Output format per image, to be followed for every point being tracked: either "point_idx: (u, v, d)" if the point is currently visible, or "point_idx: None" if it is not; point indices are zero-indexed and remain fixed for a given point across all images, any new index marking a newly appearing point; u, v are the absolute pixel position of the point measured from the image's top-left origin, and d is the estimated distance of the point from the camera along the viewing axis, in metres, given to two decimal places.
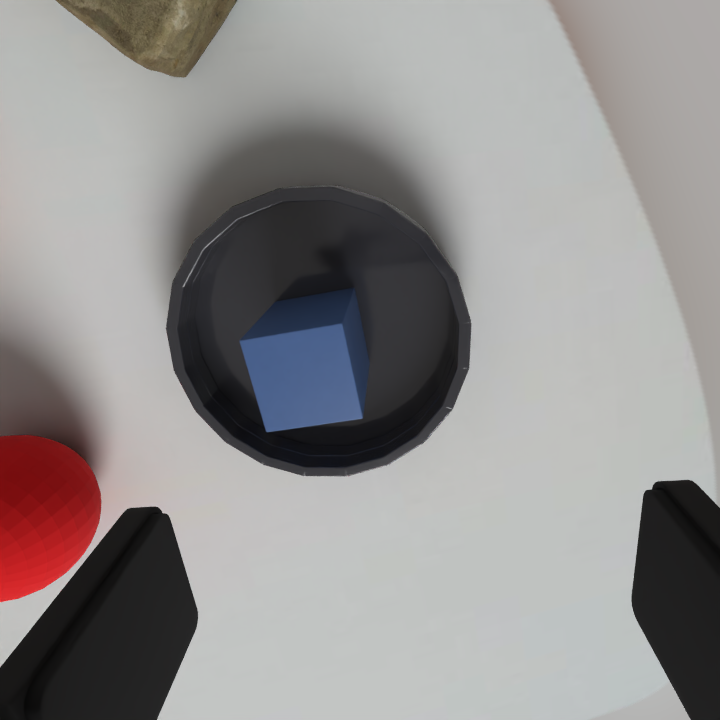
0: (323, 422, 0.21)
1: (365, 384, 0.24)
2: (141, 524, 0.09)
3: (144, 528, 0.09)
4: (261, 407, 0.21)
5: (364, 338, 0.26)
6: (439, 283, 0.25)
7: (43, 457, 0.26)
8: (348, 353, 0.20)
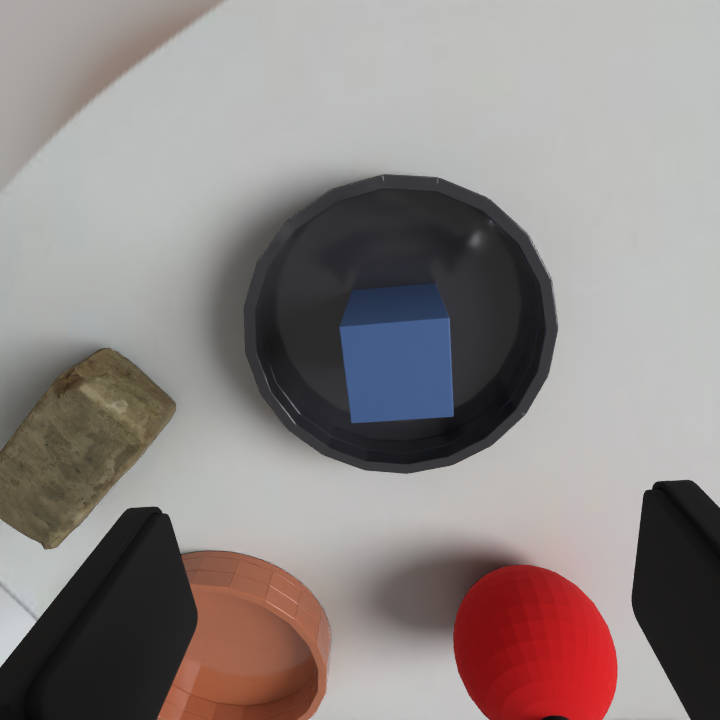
0: (448, 359, 0.20)
1: (435, 299, 0.22)
2: (141, 524, 0.09)
3: (144, 528, 0.09)
4: (424, 416, 0.21)
5: (405, 286, 0.25)
6: (353, 201, 0.24)
7: (475, 603, 0.28)
8: (372, 324, 0.19)
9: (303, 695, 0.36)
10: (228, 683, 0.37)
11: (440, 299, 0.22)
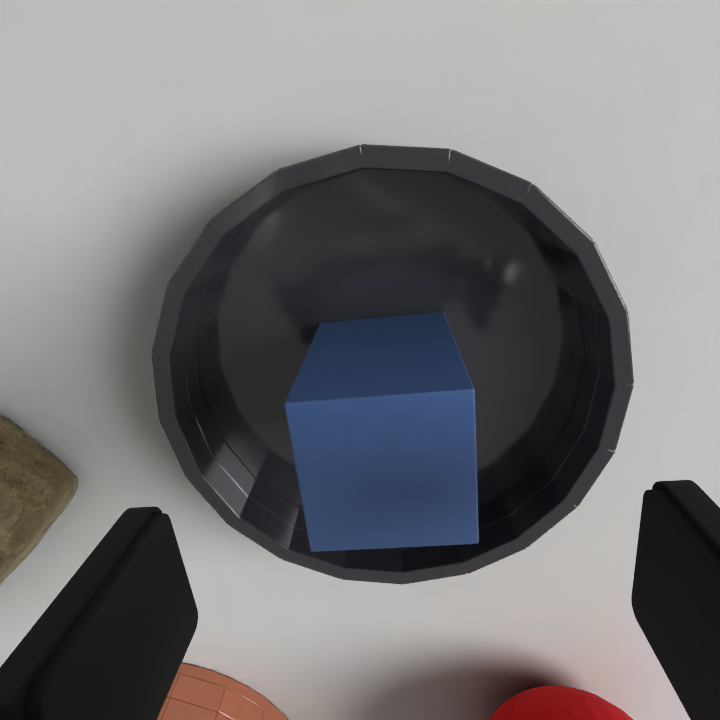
0: (472, 456, 0.12)
1: (445, 345, 0.14)
2: (141, 524, 0.09)
3: (144, 528, 0.09)
4: (430, 542, 0.13)
5: (398, 316, 0.17)
6: (318, 191, 0.16)
7: None
8: (340, 399, 0.11)
9: None
10: None
11: (454, 345, 0.14)
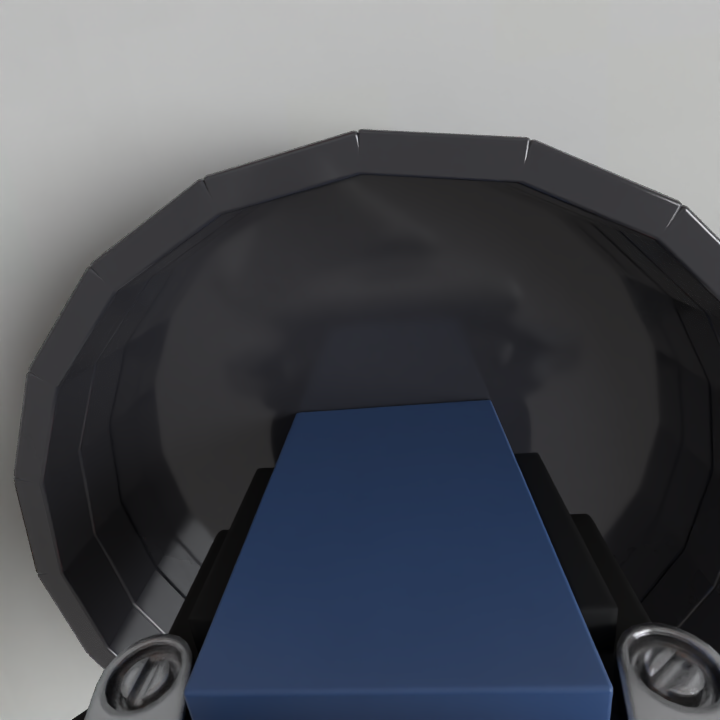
0: None
1: (512, 499, 0.07)
2: None
3: None
4: None
5: (419, 406, 0.11)
6: (291, 211, 0.10)
7: None
8: (306, 691, 0.05)
9: None
10: None
11: (528, 499, 0.07)
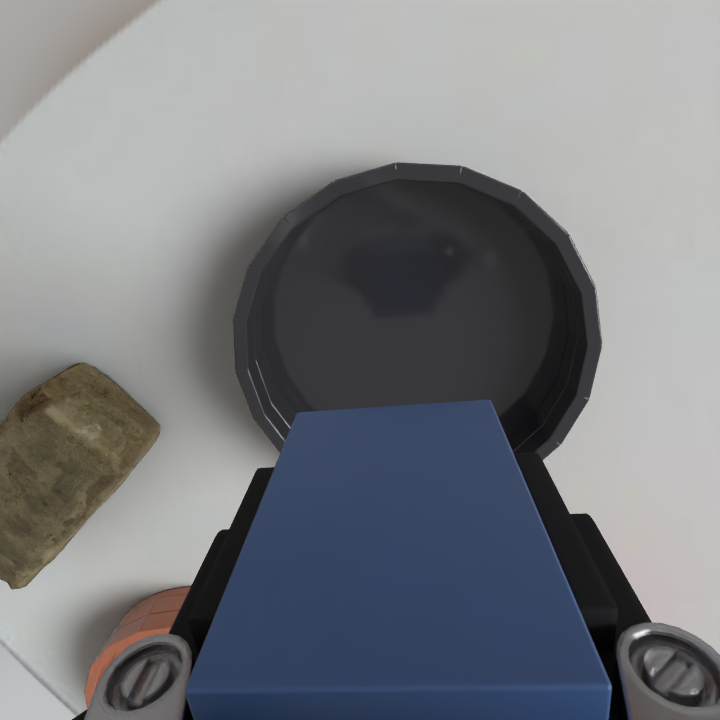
0: None
1: (511, 498, 0.08)
2: None
3: None
4: None
5: (419, 406, 0.11)
6: (361, 196, 0.21)
7: None
8: (306, 689, 0.05)
9: None
10: None
11: (527, 498, 0.07)
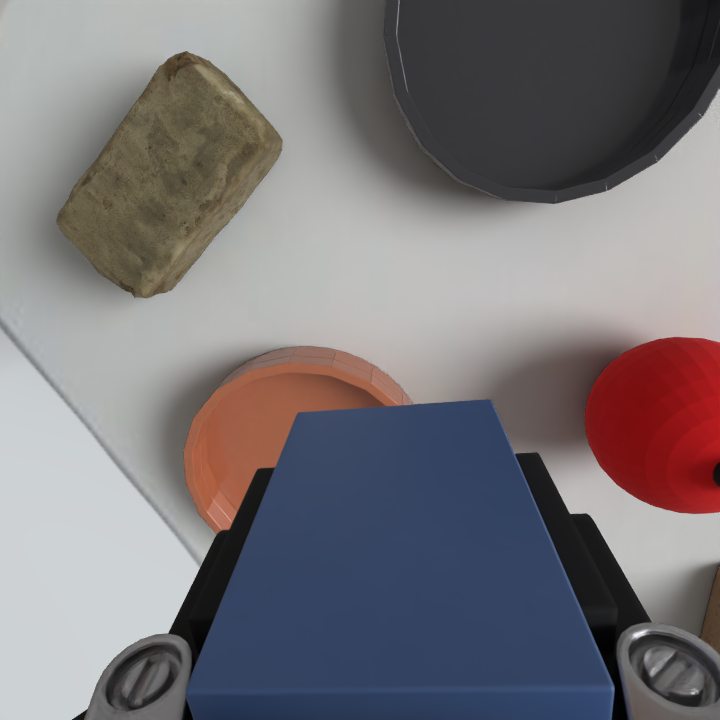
0: None
1: (513, 498, 0.07)
2: None
3: None
4: None
5: (420, 406, 0.11)
6: None
7: (620, 367, 0.25)
8: (307, 690, 0.05)
9: None
10: None
11: (528, 498, 0.07)
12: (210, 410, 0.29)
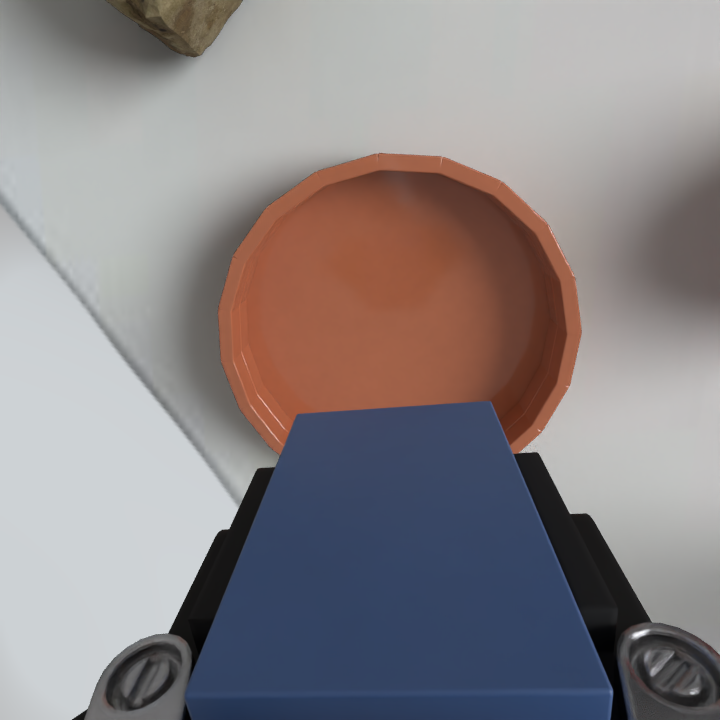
0: None
1: (512, 500, 0.07)
2: None
3: None
4: None
5: (419, 408, 0.11)
6: None
7: None
8: (306, 693, 0.05)
9: (508, 422, 0.23)
10: None
11: (528, 500, 0.07)
12: (258, 241, 0.19)
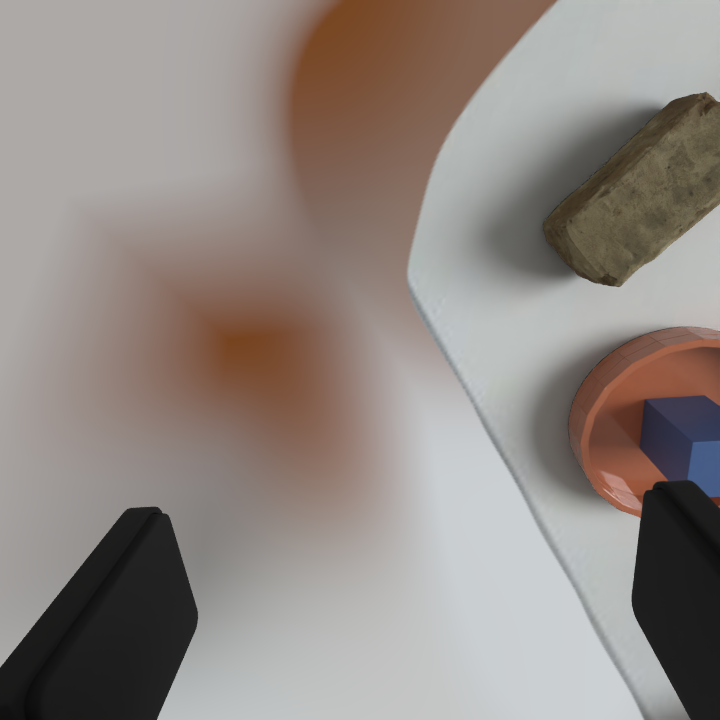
0: None
1: None
2: (141, 524, 0.09)
3: (144, 528, 0.09)
4: None
5: (684, 397, 0.37)
6: None
7: None
8: (714, 441, 0.31)
9: None
10: (653, 472, 0.40)
11: None
12: (622, 380, 0.35)
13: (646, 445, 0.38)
